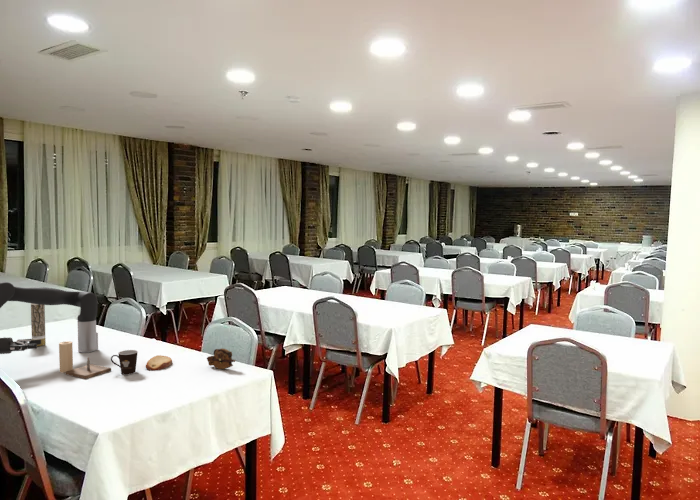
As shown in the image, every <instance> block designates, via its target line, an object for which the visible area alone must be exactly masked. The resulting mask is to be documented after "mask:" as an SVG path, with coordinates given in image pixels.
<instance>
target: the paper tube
mask: <svg viewBox="0 0 700 500" xmlns="http://www.w3.org/2000/svg"><path fill="white" fill-rule="evenodd" d="M45 307H46V305H40V304H32V303H30V319H31V322H30V323H31V324H30V325H31V339H32V340H41V344H39V345H37V347H41V346H45V345H46V344H47V343H46V342H47V341H46V314H45V313H46V311H45V309H46V308H45Z"/></svg>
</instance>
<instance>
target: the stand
mask: <svg viewBox="0 0 700 500" xmlns="http://www.w3.org/2000/svg"><path fill="white" fill-rule="evenodd" d="M111 371H112V367H108V366H104V365H98V364H93V363H91V361H90V357H87V360H86V365H84V366H80V367H76V368H73V370H69V371H66V373H65V375H66V376H70V377H74V378H75V377H76V378H79V379H84V380H86V379H89V378H93V377H96V376H99V374H100V375H102V374H105V373H108V372H109V373H110V372H111Z"/></svg>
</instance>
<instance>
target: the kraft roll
mask: <svg viewBox="0 0 700 500" xmlns="http://www.w3.org/2000/svg"><path fill="white" fill-rule="evenodd" d="M58 351H59V352H58V353H59V357H58V360H59V373H61V374H62V373H63V374H66V371H69V370H73V369H74V363H73V362H74V356H73V341H62V342H58Z"/></svg>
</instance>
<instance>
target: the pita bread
mask: <svg viewBox="0 0 700 500" xmlns="http://www.w3.org/2000/svg"><path fill="white" fill-rule="evenodd" d="M172 364H173V360H172V358H171V357H169V356H166V355H161V354H160V355H155V356H153V357H151V358H150V359H148V360H147V362H146V364H145V369H147V370H148V371H154V372H155V371H160V370H164V369H166V368H169V367H170V366H171V365H172Z"/></svg>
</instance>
